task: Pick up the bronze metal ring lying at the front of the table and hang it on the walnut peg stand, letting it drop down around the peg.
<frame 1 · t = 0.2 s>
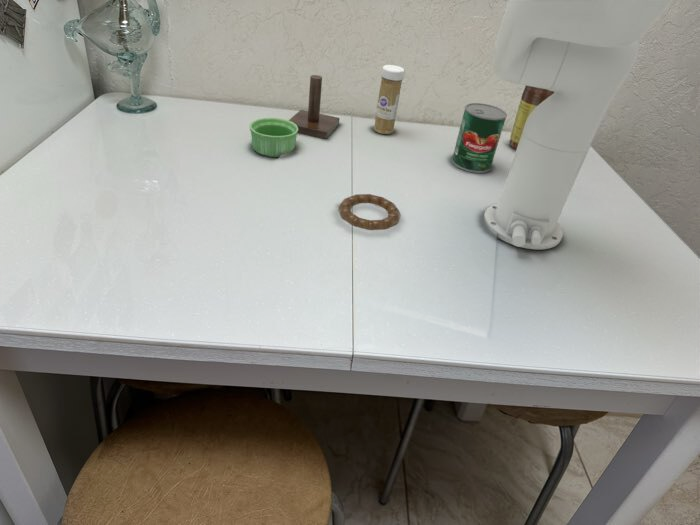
sprinkles bottle: (383, 131, 107), on the table
ring: (369, 212, 77), point 1 cm above the table
ramekin: (273, 149, 94), on the table
canned tomato: (470, 164, 99), on the table
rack: (312, 127, 105), on the table
sauce bottle: (520, 148, 109), on the table
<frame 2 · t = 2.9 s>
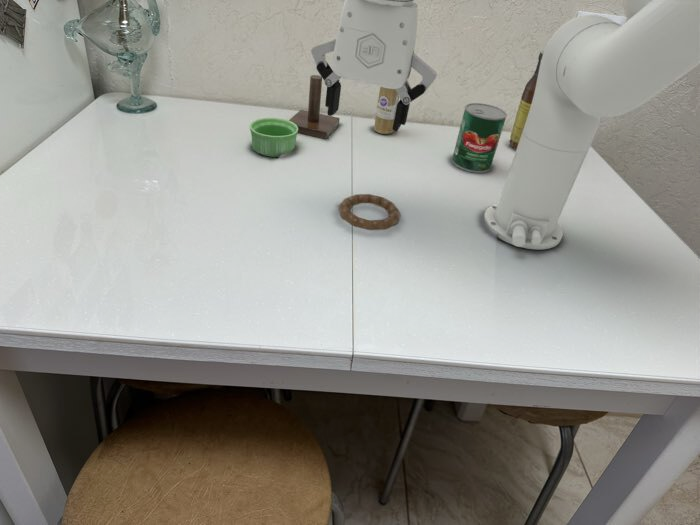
hand: (364, 120, 71), 15 cm above the table, tool pointing down, fingers open, 9 cm apart
nothing on the table moved.
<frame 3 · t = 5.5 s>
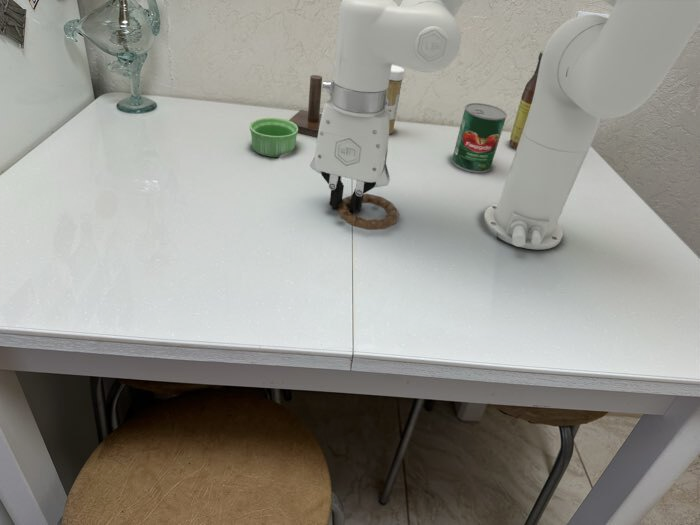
hand: (345, 210, 78), 0 cm above the table, tool pointing down, fingers closed on ring, 2 cm apart
ring: (368, 212, 77), point 1 cm above the table, touching gripper
everything else where it was.
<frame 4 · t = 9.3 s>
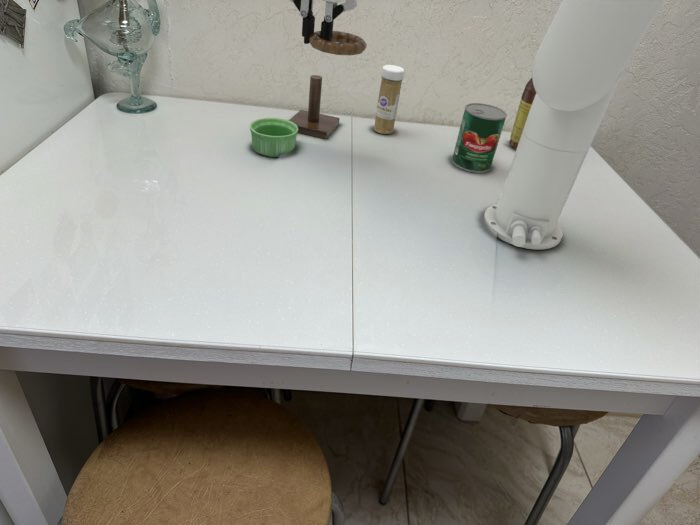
hand: (316, 42, 84), 20 cm above the table, tool pointing down, fingers closed on ring
ring: (337, 42, 83), point 20 cm above the table, touching gripper
everything else where it was.
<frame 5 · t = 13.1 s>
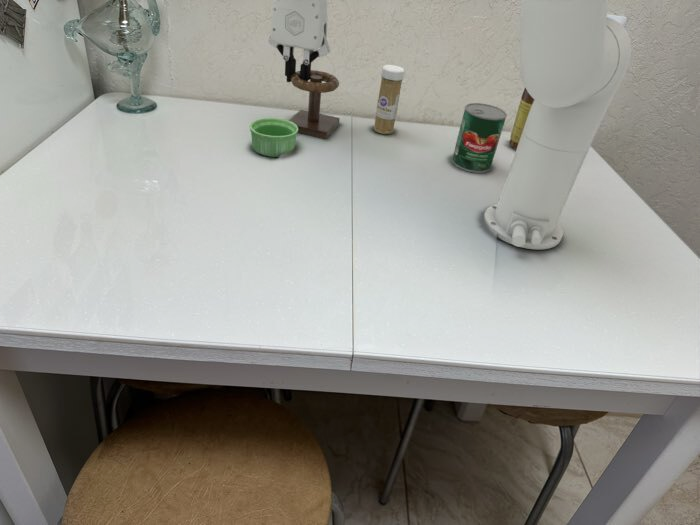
hand: (297, 81, 100), 9 cm above the table, tool pointing down, fingers closed on ring
ring: (314, 81, 99), point 10 cm above the table, touching gripper
everything else where it was.
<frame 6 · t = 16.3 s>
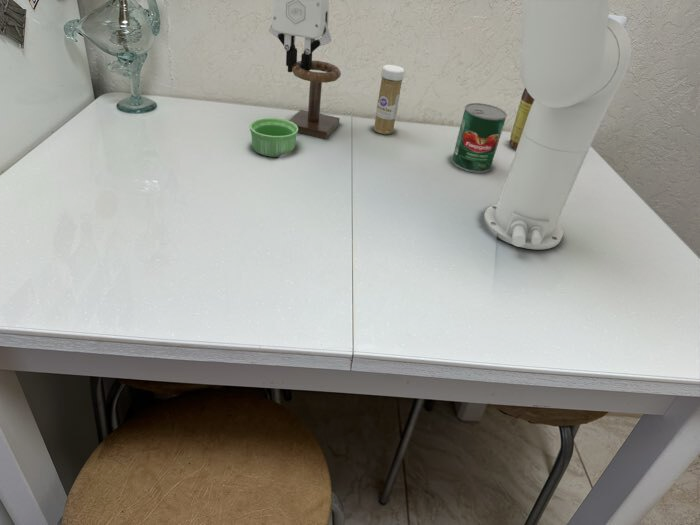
hand: (298, 71, 99), 11 cm above the table, tool pointing down, fingers closed on ring
ring: (316, 71, 98), point 12 cm above the table, touching gripper
everything else where it was.
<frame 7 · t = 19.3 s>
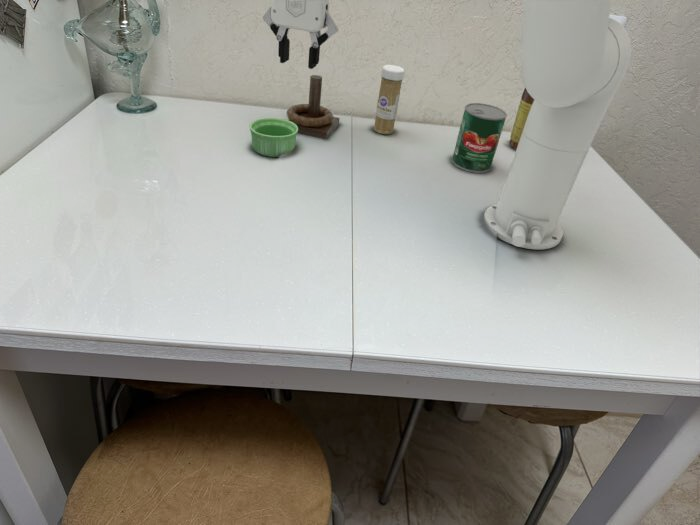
hand: (298, 63, 98), 12 cm above the table, tool pointing down, fingers open, 5 cm apart
ring: (309, 115, 103), point 2 cm above the table, touching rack
everything else where it was.
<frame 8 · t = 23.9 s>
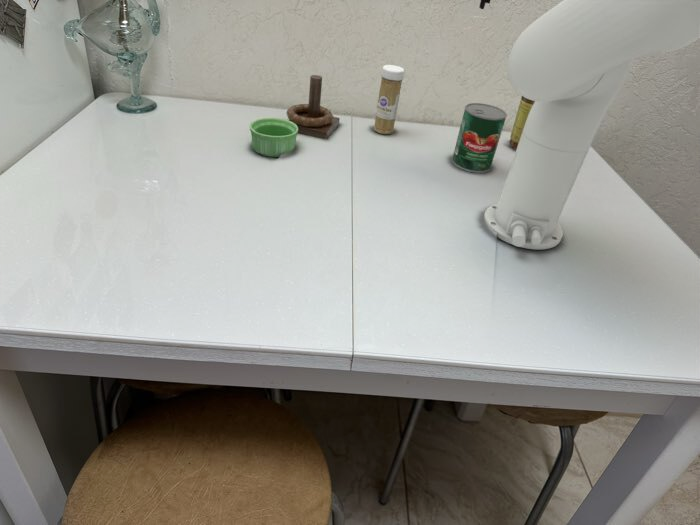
hand: (452, 2, 79), 28 cm above the table, tool pointing down, fingers open, 9 cm apart
nothing on the table moved.
at the end: ring 0.9 cm from the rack (horizontally); ring point 2.4 cm above the table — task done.
